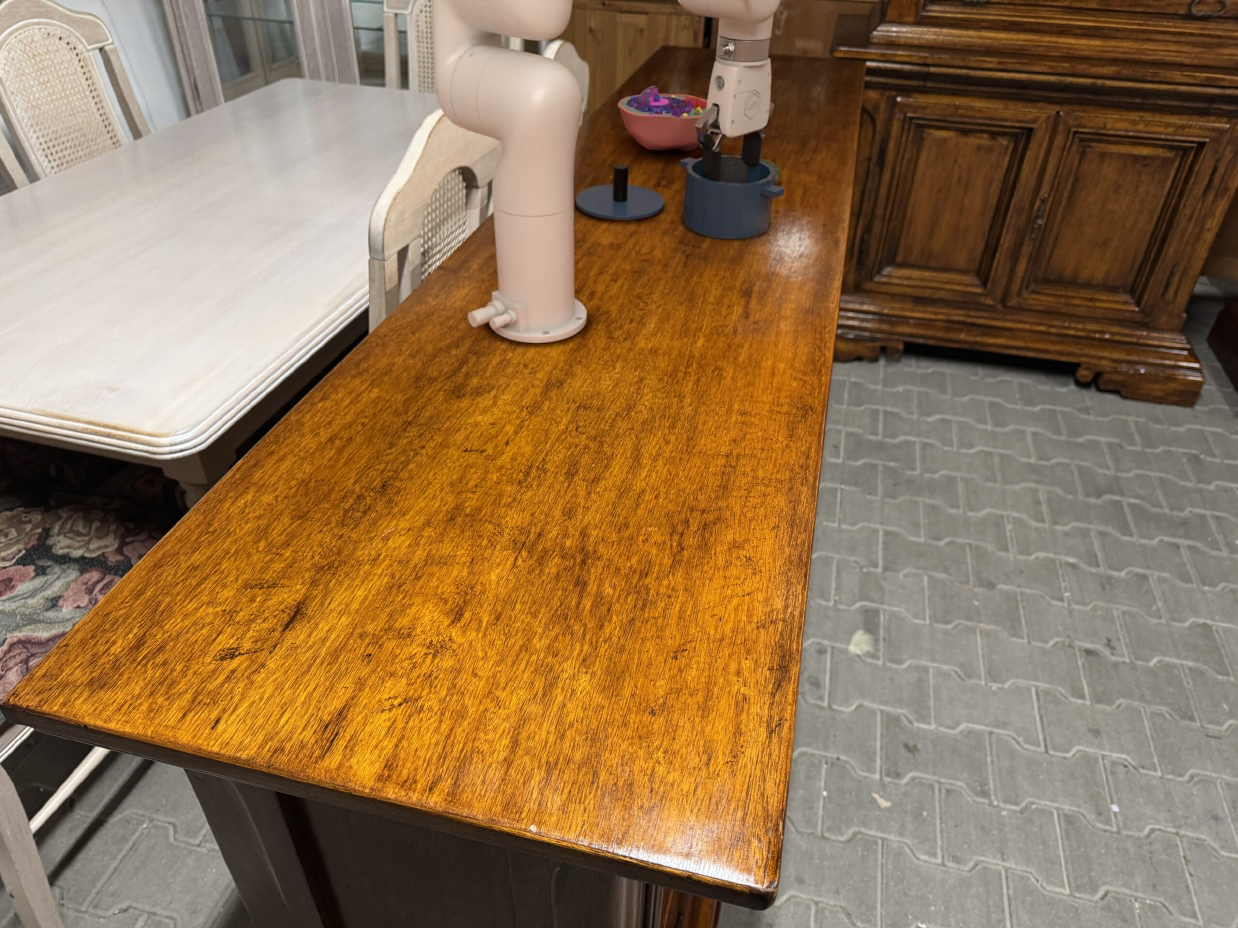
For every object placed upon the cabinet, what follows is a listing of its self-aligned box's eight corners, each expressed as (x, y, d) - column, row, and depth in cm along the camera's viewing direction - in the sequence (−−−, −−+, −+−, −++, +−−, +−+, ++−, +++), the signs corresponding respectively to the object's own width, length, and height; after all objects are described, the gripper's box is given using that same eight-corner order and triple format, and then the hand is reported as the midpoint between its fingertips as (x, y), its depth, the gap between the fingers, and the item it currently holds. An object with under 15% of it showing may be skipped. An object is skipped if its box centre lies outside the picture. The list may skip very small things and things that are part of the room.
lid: (620, 231, 137) (621, 188, 133) (557, 205, 145) (556, 164, 141) (682, 208, 145) (684, 167, 141) (619, 185, 153) (620, 146, 149)
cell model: (706, 170, 160) (712, 106, 154) (604, 156, 165) (605, 93, 158) (727, 143, 173) (733, 83, 166) (632, 131, 178) (634, 72, 171)
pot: (745, 252, 131) (752, 196, 126) (653, 216, 142) (656, 163, 137) (799, 228, 139) (807, 175, 134) (707, 196, 150) (712, 145, 145)
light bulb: (744, 227, 138) (751, 163, 132) (708, 226, 138) (714, 162, 132) (741, 213, 142) (748, 151, 136) (706, 212, 142) (712, 150, 136)
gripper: (724, 63, 118) (712, 188, 128) (800, 46, 128) (783, 164, 138) (683, 53, 122) (674, 175, 132) (759, 37, 132) (746, 152, 142)
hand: (730, 169), depth 135 cm, fingers open, 9 cm apart
